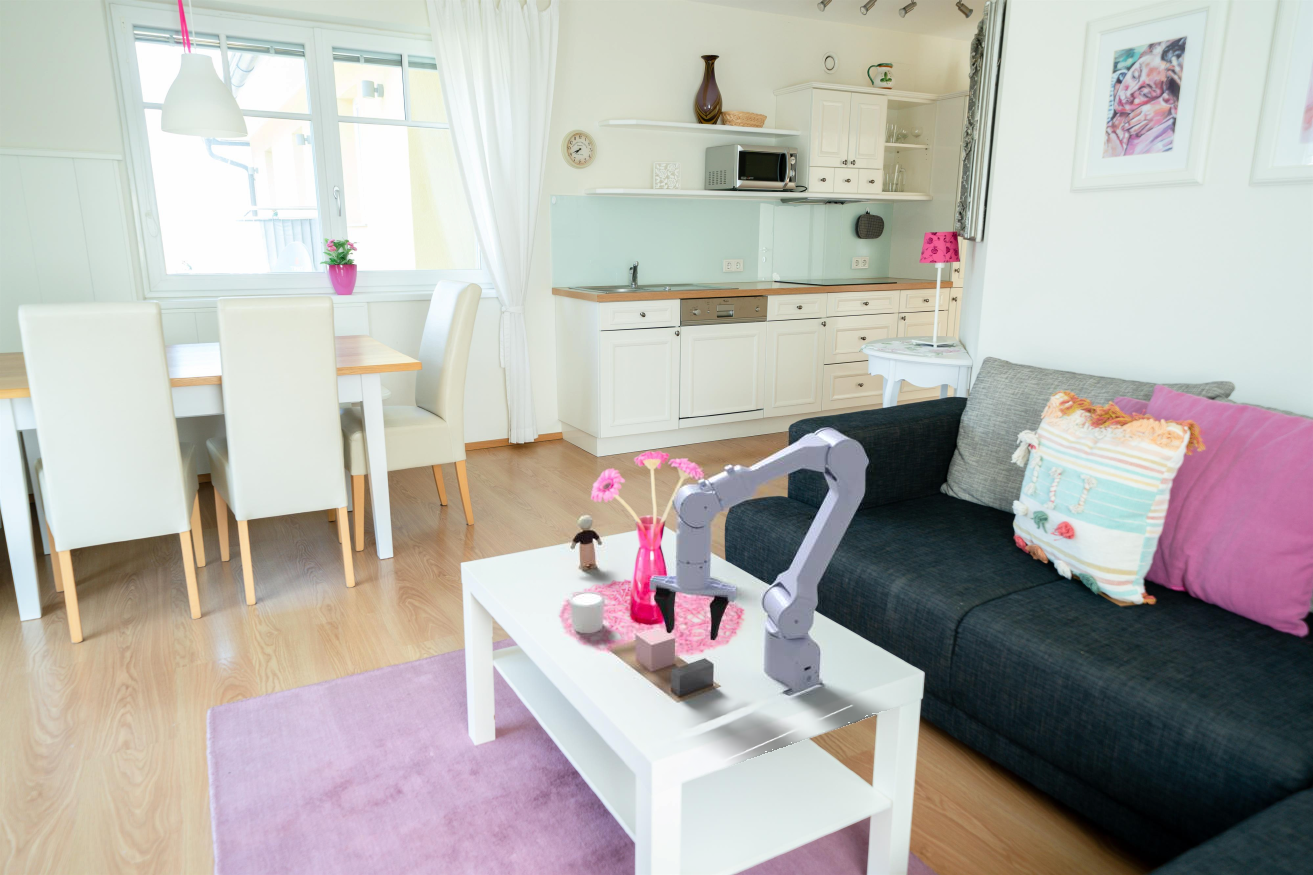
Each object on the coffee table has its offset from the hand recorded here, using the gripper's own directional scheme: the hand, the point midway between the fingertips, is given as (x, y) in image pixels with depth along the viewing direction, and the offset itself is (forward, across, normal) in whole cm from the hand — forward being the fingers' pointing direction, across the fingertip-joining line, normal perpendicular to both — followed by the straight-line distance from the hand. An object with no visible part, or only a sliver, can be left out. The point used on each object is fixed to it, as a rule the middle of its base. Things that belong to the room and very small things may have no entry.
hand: (692, 633), depth 138 cm
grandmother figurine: (+10, +39, -43) cm, 58 cm away
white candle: (+10, +25, -12) cm, 29 cm away
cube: (+8, +8, -4) cm, 12 cm away
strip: (+9, +6, -2) cm, 11 cm away
